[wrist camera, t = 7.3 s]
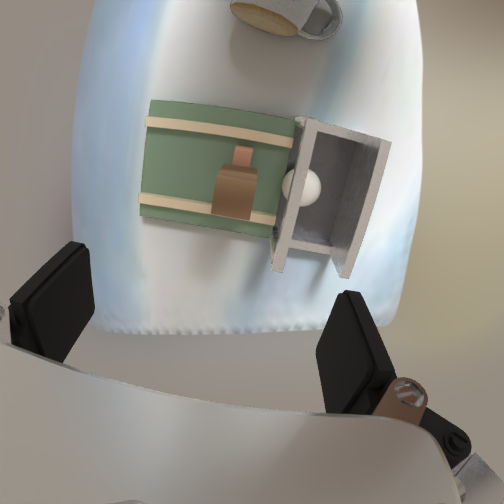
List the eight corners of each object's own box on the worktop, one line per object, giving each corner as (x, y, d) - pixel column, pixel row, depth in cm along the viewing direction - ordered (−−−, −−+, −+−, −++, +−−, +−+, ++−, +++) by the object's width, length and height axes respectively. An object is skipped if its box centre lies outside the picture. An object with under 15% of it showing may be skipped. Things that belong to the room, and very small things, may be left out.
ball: (327, 176, 28) (323, 169, 32) (286, 167, 28) (286, 161, 32) (317, 215, 30) (314, 204, 33) (277, 206, 30) (279, 196, 34)
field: (155, 100, 29) (148, 99, 27) (294, 120, 30) (297, 121, 28) (143, 211, 35) (137, 218, 33) (270, 232, 36) (270, 241, 33)
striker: (230, 143, 29) (219, 156, 21) (260, 148, 30) (260, 163, 22) (221, 199, 32) (208, 231, 24) (249, 204, 32) (246, 238, 24)
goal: (294, 115, 30) (306, 116, 22) (366, 134, 30) (396, 142, 23) (268, 237, 36) (270, 271, 29) (334, 249, 36) (350, 285, 29)
